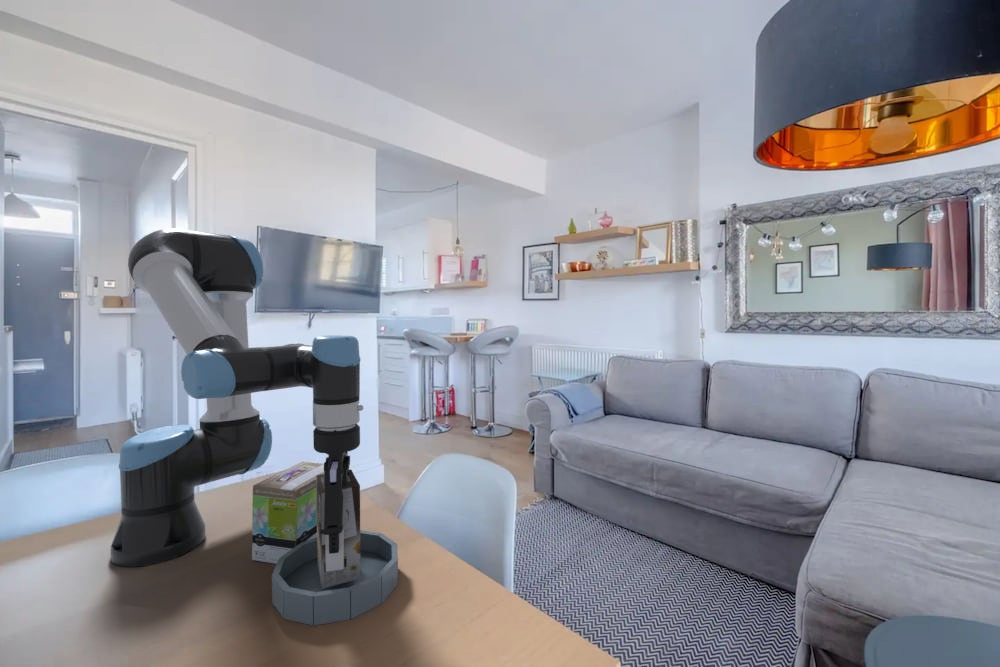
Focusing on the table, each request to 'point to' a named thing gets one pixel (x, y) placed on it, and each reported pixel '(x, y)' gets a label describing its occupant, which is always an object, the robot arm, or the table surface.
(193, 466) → the robot arm
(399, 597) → the table surface
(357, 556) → the coffee box
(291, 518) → the tea box
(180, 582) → the table surface
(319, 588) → the bowl
